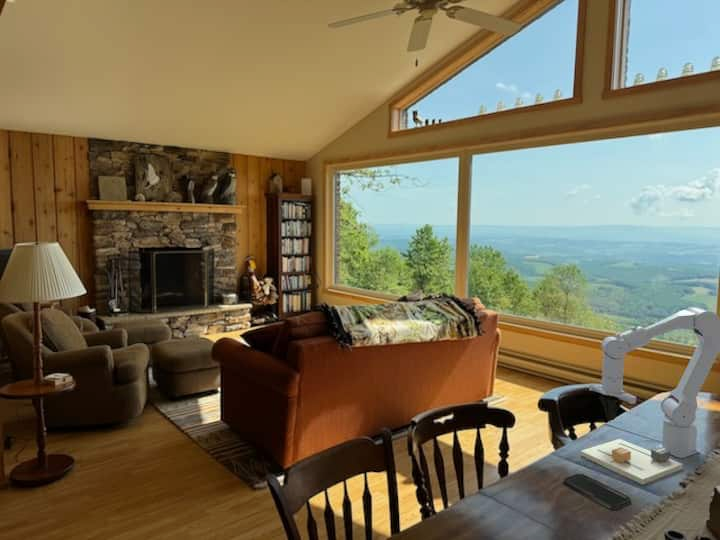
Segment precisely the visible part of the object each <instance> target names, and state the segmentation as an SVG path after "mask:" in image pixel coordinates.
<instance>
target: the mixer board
mask: <svg viewBox="0 0 720 540" xmlns="http://www.w3.org/2000/svg"><path fill="white" fill-rule="evenodd" d="M620 447H622V448H624V449H627V450H629V451H631V459H630V460H628V461H625V462H622V463H621V462H619V461H617V460H615V459H612V450H614V449H617V448H620ZM582 456H583V458H584V457H585V459H587V460H588V461H589V460H590V461H591V460H592V461H591V462H593V461H594V463H595V462H596V464H597V465H600V466H601V465H602V467H603V468H606V469H608V470H610V471H612V472H615V473H616V474H618V475H620V476H624V477H625V478H628V479H629V480H632V481H634V482H635V483H639V484H640V485H645V484H648V483H650V482H652V481H656V480H658V479H660V478H664V477H666V476H669V475H671V474H673V473H675V472H676V473H677V472H678V471H681V470H683V463H680V461H679V462H678V461H676V460H673V459H671V458H670V459H669V460H666V461H663V462H660V461H657V460H655V459H652V458H651V450H649V449H646V448H644V447H641V446H638V445H636V444H633V443H631V442H629V441H626V440H624V439H621V438H617V439H615V440H611V441H608V442H605V443H602V444H598V445H595V446H592V447H589V448H585V449H583V450H580V457H582Z"/></svg>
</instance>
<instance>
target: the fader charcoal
mask: <svg viewBox="0 0 720 540" xmlns="http://www.w3.org/2000/svg"><path fill="white" fill-rule="evenodd" d="M650 451H651V458H652V459H655V460H657V461H660V462H663V461H666V460H669V459H671V458H670V457H671V454H670V451H669V450H666V449H665V448H661V447H658V448H655V447H654V448H652V449H651V450H650Z"/></svg>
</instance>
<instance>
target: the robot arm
mask: <svg viewBox="0 0 720 540" xmlns="http://www.w3.org/2000/svg"><path fill="white" fill-rule="evenodd" d="M678 329H683V330H689V331H690V330H691V331H693V333H694V334H695V337H697V340H698V341H699V342H698V343H697V346H696V348H695V351H694V352H693V354H692V356H691V358H690V360H689V362H688V365H686V369H684V372H683V374H682V376H681V378H680V381H679V382H678V384H677V387H676V388H673V389H672V390H671V391H670V392H669V394H668V395H667V396H666V397H664V398H663V399H662V401H661V402H660V403H661V404H660V409H661V410H662V412H663V414H664V415H663V418H662V420H663V421H662V437H661V438H662V440H661V444H659V445H656V446H654V449H655V448H658V447H661V448H665V449H666V450H669V451H670V456H671V455H672V456H673V457H677V458H679V459H685V458H687V457H689V456H692V455H695V454H697V453H700V450H699V449H698V448H697V442H698V441H697V439H698V429H697V427H696V425H695V424H694V422H695V421H696V419H697V418H696V412H697V408H698V401H697V400H698V399H697V396H698V395H699V393H700V391H701V389H702V387H703V385H704V383H705V381H706V379H707V377H708V375H709V373H710V371H711V369H712V367H713V365H714V363H715V361H716V359H717V357H718V355H719V354H720V317H719V315H718V314H717V313H715V312H713V311H710V310H706V309H703V308H701V307H699V306H691V307H688V308H687V309H682V310H680V311H678V312H676V313H674V314H672V315H670V316H668V317H666V318H663V319H662V320H659V321H657V322H654V323H653V324H651V325H648V326H647V327H644V326H641V325H640V326H639V325H638V326H636V325H633V326H630V329H627V330H626V331H624V332H622V333H619V332H616V333H615V334H614V335H615V336H607V337H605V338H604V339H603V340H602V342H601V344H600V348H601V350H602V351H603V353H602V354H603V355H602V367H601V368H602V369H601V370H602V371H601V384H597V383H589V384H588V388H589V389H588V390H589V391H593V392H597V393H600V394H601V395H599V396H598V397H599V401H600V402H601V405H602V407H603V409H604V413H605V418H606V419H607V420H608V421H613V420H615V418H616V416H617V414H618V410H619V409H620V407H621V405H622V404H623V402H627V403H629V404H631V405H634V404H637V396H635V395H632V394H631V393H628V392H626V391H624V390H623V386H624V385H623V382H624V357H625V356H626V355H627V353H628V352H631V351H635V350H637V349H639V348H641V347H644V346H646V345H649V344H650V342H651V340H652V339H653V338H655V337H658V336H661V335H664V334H667V333H670V332H672V331H674V330H678Z"/></svg>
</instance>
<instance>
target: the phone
mask: <svg viewBox="0 0 720 540" xmlns="http://www.w3.org/2000/svg"><path fill="white" fill-rule="evenodd" d="M562 484H564V485H565V486H567V487H569V488H571V489H572V490H575V491H576V492H578V493H580V494H582V495H583V496H585V497H587V498H589V499H590V500H593V501H595V502H596V503H598V504H599V505H602V506H603V507H606V508H607V509H609V510H618V509H620V508H622V507H624V506H626V505H629V504H631V503H632V499H631V497H629V496H627V495H626V494H624V493H622V492H619V491H617V489H614V488H612V487H610V486H608V485H606V484H604V483H601V482H599V481H598V480H596V479H594V478H591V477H590V476H588V475H586V474H584V473H576V474H574V475H573V474H572V475H571V476H568V477H564V478H563V479H562Z"/></svg>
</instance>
